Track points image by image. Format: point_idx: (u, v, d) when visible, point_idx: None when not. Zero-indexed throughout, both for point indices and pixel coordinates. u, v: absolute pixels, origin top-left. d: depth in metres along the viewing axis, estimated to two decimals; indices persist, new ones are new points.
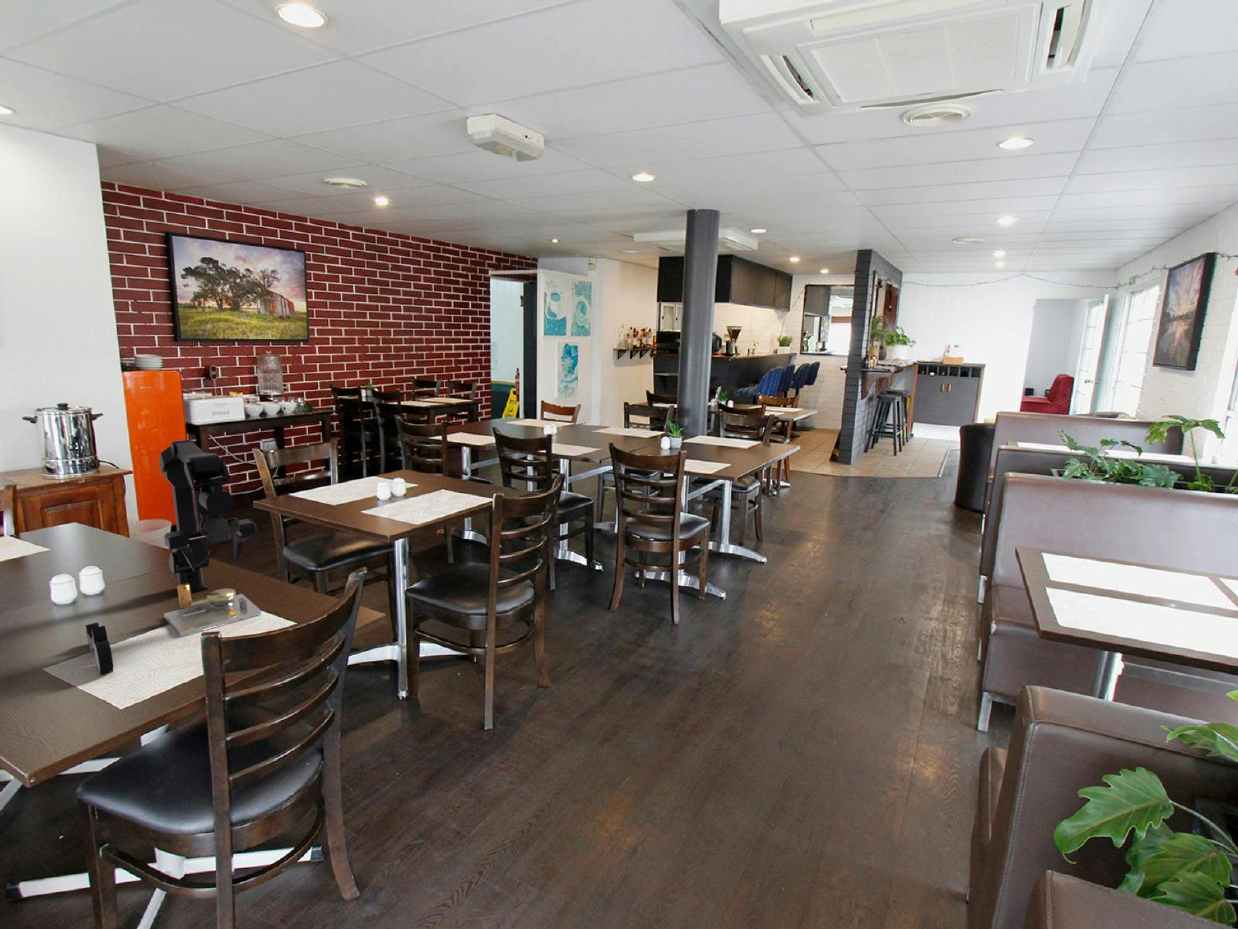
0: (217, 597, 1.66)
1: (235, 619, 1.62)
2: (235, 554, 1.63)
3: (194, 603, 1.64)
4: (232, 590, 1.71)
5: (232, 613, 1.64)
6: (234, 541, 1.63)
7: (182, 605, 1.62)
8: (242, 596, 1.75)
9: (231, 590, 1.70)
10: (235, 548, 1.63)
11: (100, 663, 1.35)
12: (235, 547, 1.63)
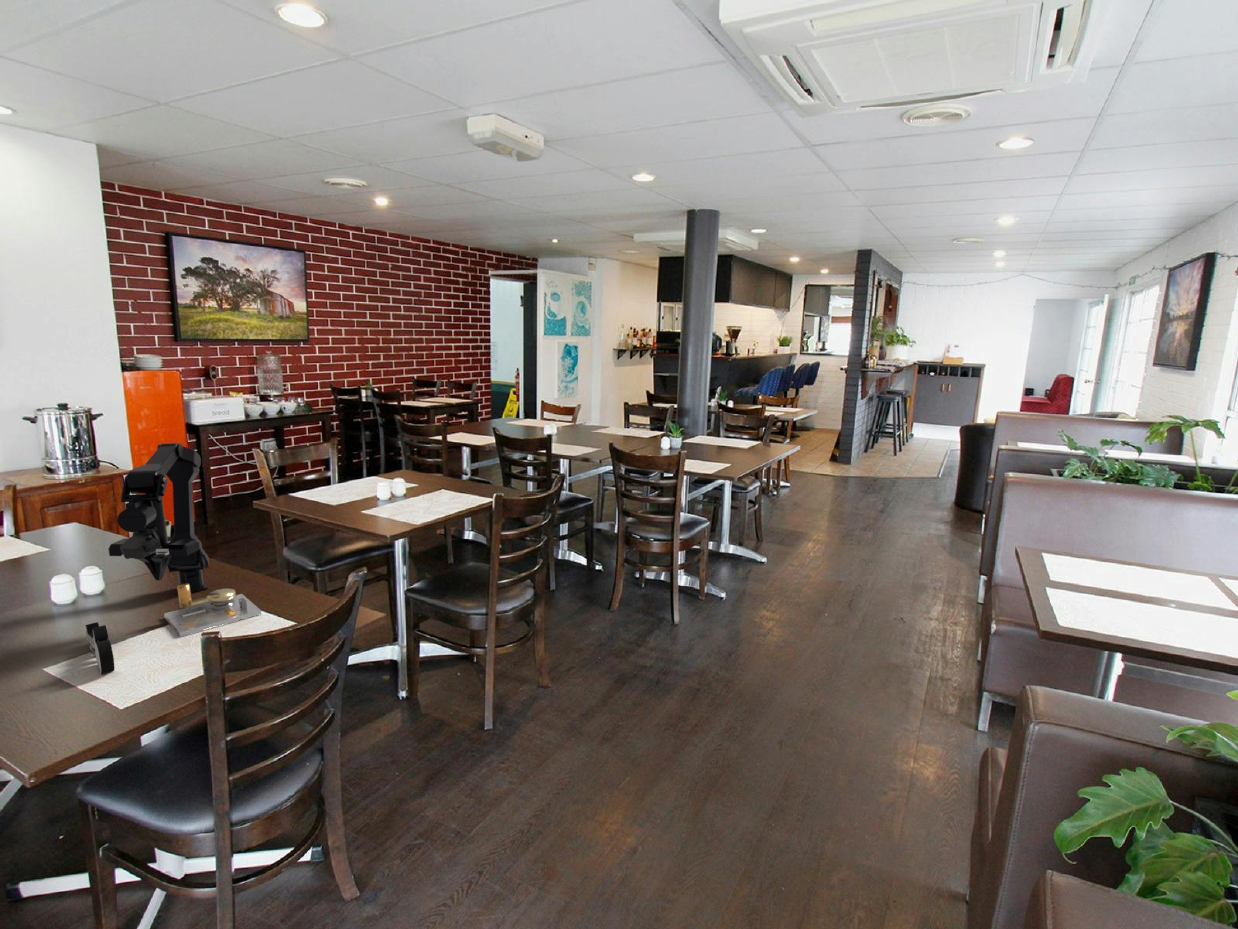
0: (217, 597, 1.66)
1: (235, 619, 1.62)
2: None
3: (194, 603, 1.64)
4: (232, 590, 1.71)
5: (232, 613, 1.64)
6: None
7: (182, 605, 1.62)
8: (242, 596, 1.75)
9: (231, 590, 1.70)
10: None
11: (101, 662, 1.35)
12: None
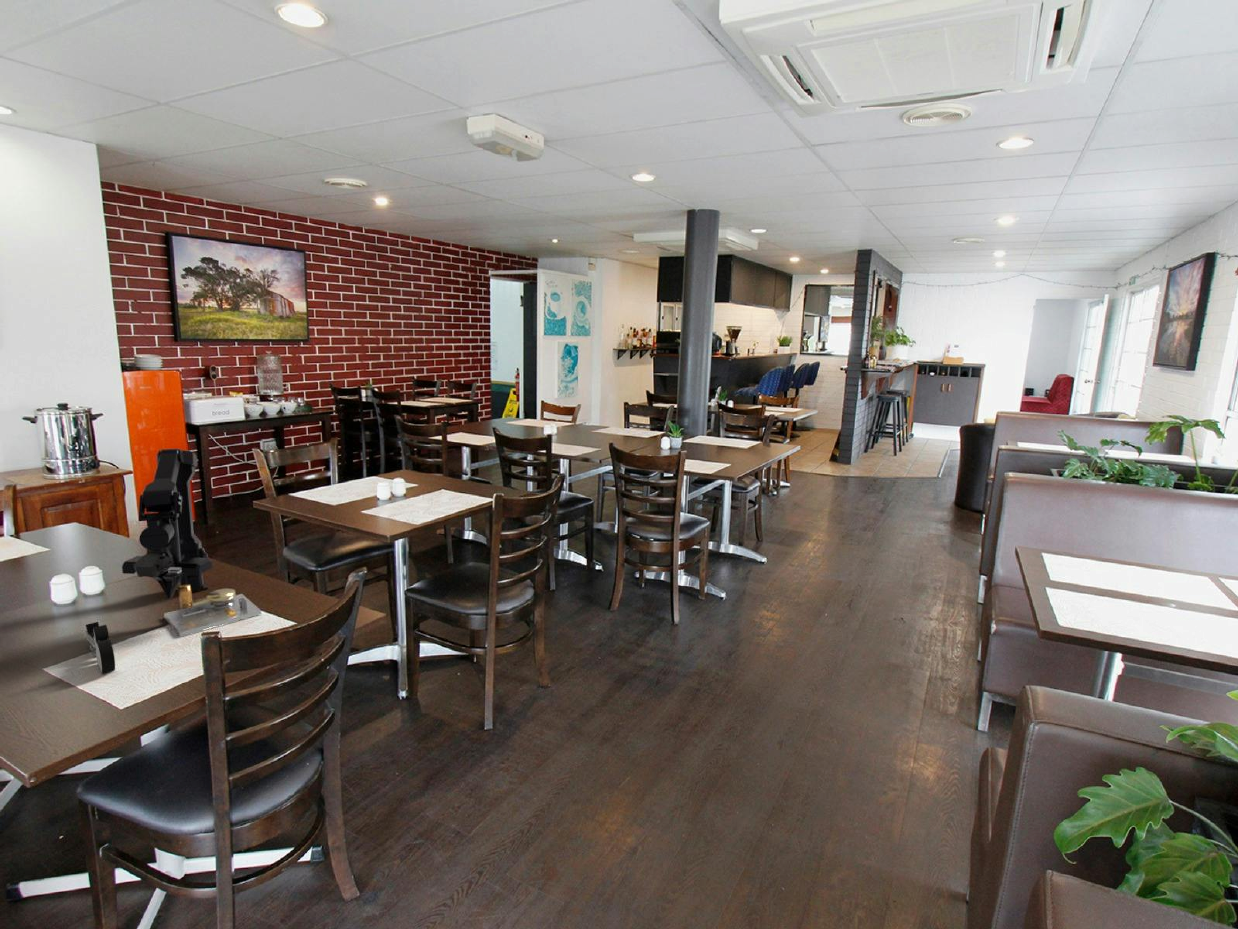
0: (219, 597, 1.66)
1: (235, 619, 1.62)
2: None
3: (195, 604, 1.63)
4: (232, 590, 1.71)
5: (232, 613, 1.64)
6: None
7: (183, 606, 1.61)
8: (242, 596, 1.75)
9: (230, 590, 1.70)
10: None
11: (102, 662, 1.35)
12: None
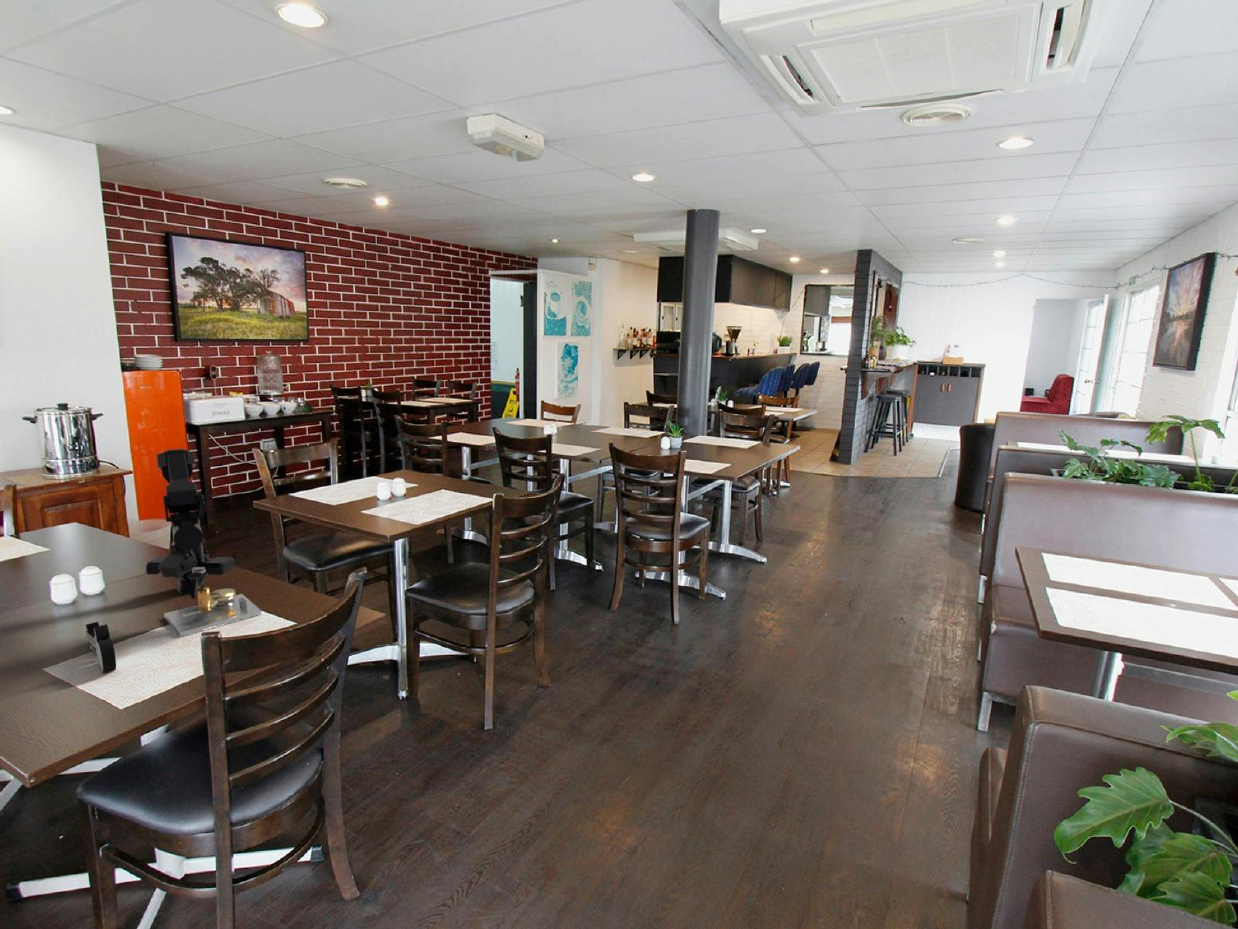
0: (227, 595, 1.68)
1: (235, 619, 1.62)
2: None
3: (212, 605, 1.63)
4: (226, 589, 1.71)
5: (232, 613, 1.64)
6: None
7: (207, 608, 1.60)
8: (242, 596, 1.75)
9: (225, 589, 1.71)
10: None
11: (103, 661, 1.36)
12: None
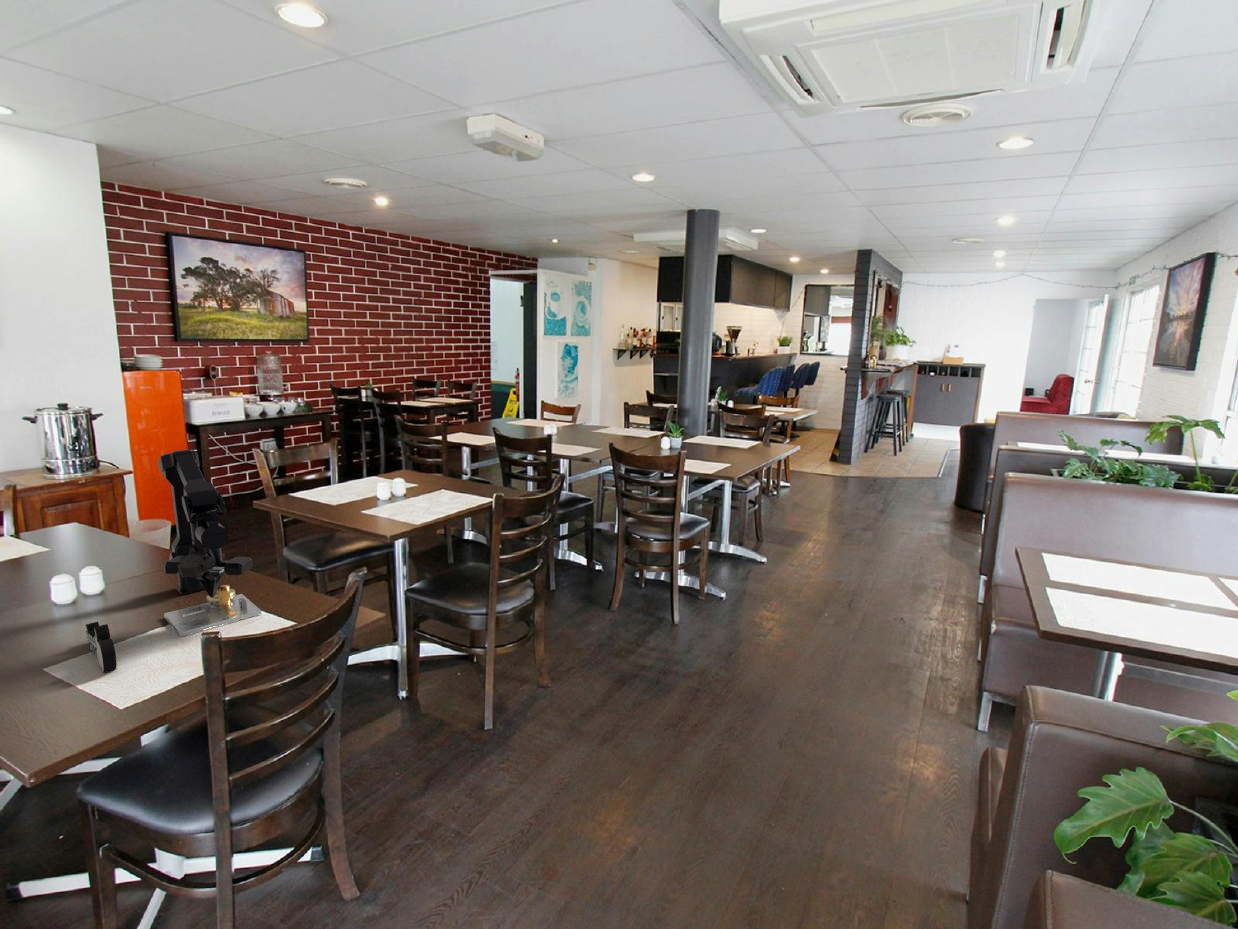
0: (231, 593, 1.69)
1: (235, 619, 1.62)
2: None
3: None
4: None
5: (232, 613, 1.64)
6: None
7: (230, 605, 1.62)
8: (242, 596, 1.75)
9: None
10: None
11: (104, 661, 1.36)
12: None
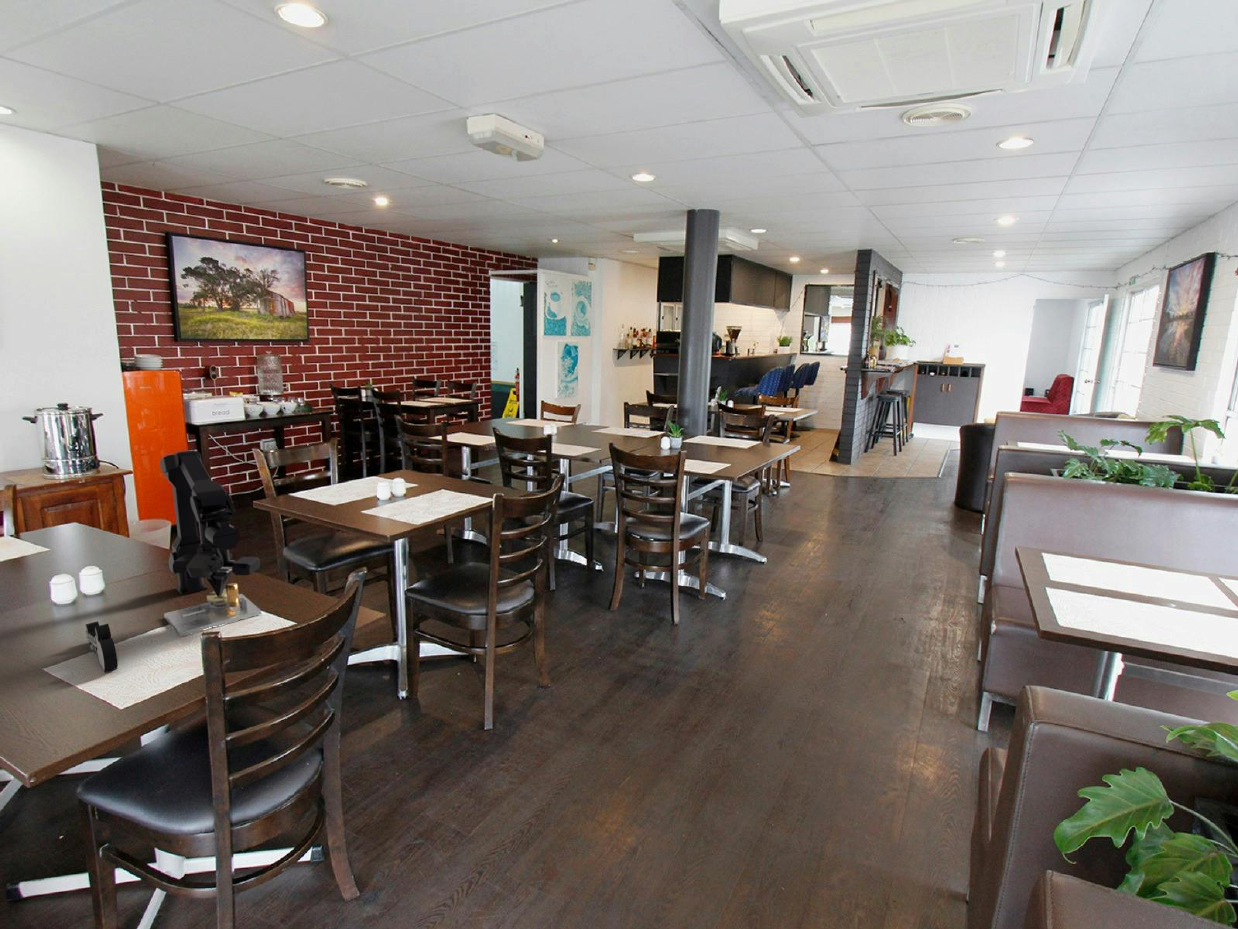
0: None
1: (235, 619, 1.62)
2: None
3: None
4: None
5: (232, 613, 1.64)
6: None
7: (238, 602, 1.64)
8: (242, 596, 1.75)
9: None
10: None
11: (105, 661, 1.36)
12: None
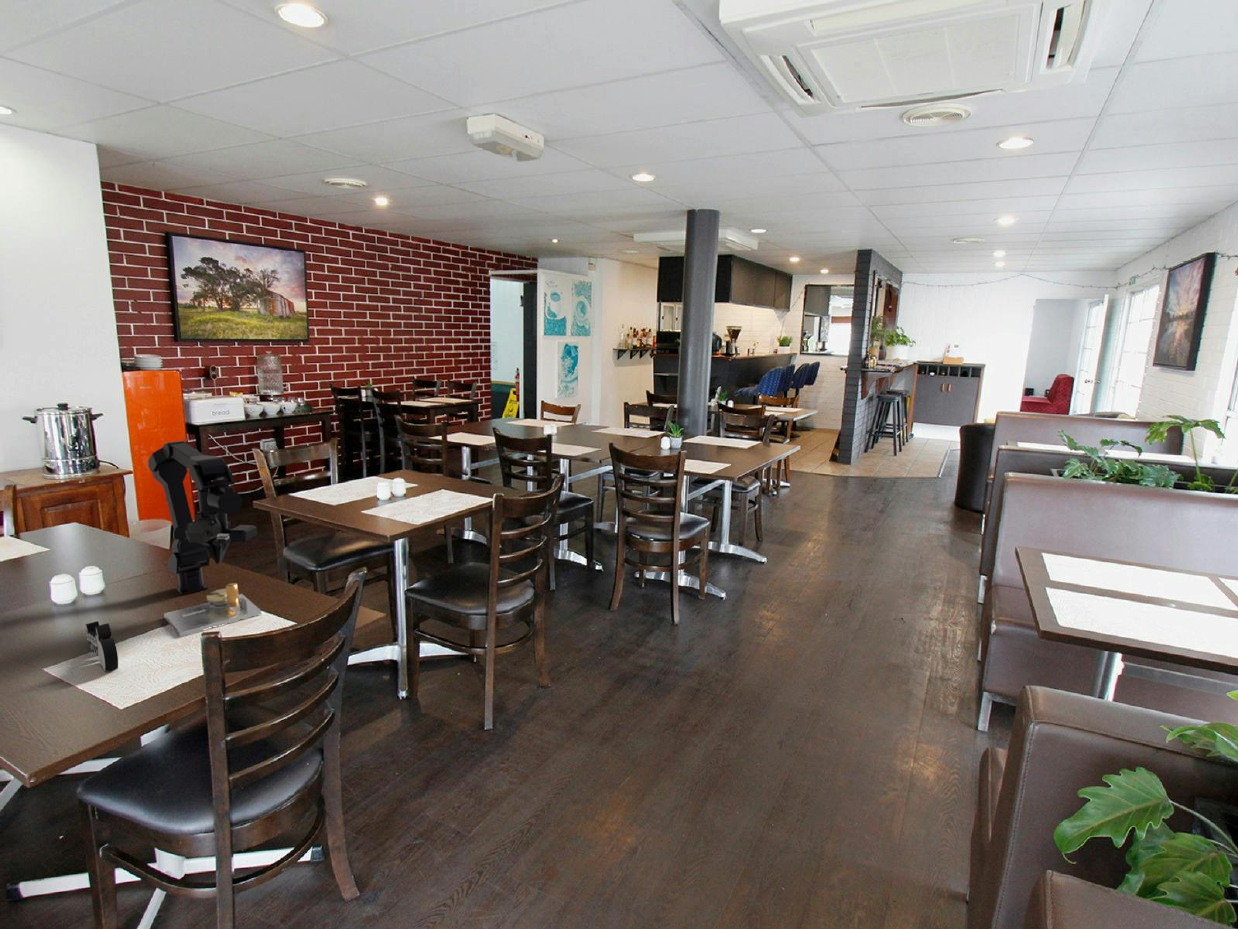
0: None
1: (235, 619, 1.62)
2: None
3: None
4: (216, 590, 1.70)
5: (232, 613, 1.64)
6: None
7: (238, 602, 1.64)
8: (242, 596, 1.75)
9: (217, 591, 1.70)
10: None
11: (106, 660, 1.36)
12: None
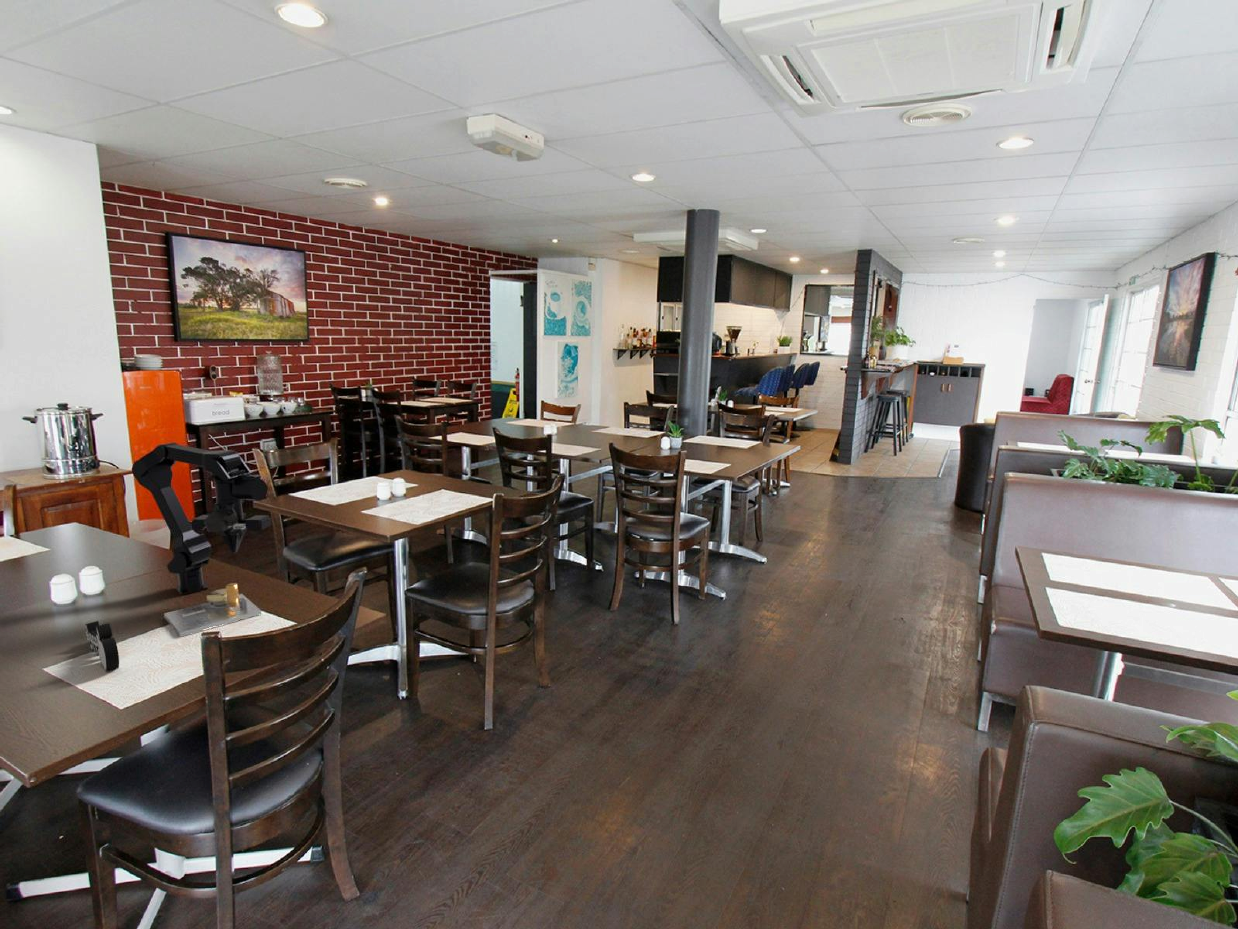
0: None
1: (235, 619, 1.62)
2: None
3: None
4: (216, 590, 1.70)
5: (232, 613, 1.64)
6: None
7: (238, 602, 1.64)
8: (242, 596, 1.75)
9: (217, 591, 1.70)
10: None
11: (107, 660, 1.36)
12: None
